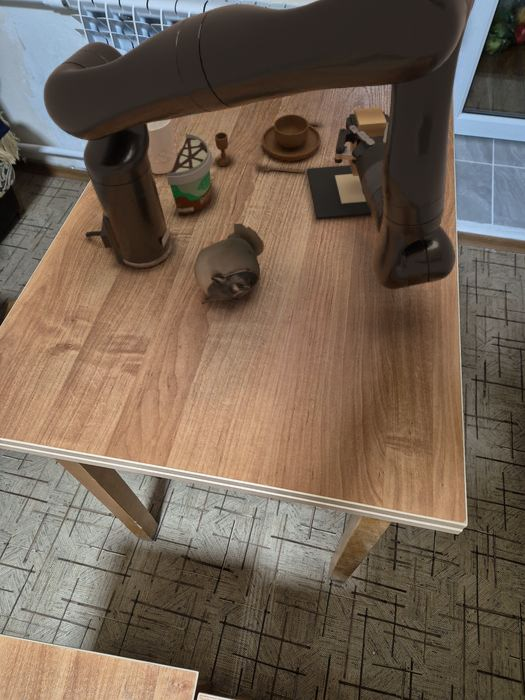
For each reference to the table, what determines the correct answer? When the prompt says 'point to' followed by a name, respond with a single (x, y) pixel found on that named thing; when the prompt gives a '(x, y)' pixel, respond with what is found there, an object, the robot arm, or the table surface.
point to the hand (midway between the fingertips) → (365, 117)
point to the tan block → (369, 126)
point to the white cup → (162, 146)
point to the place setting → (281, 141)
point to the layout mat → (337, 193)
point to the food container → (191, 176)
